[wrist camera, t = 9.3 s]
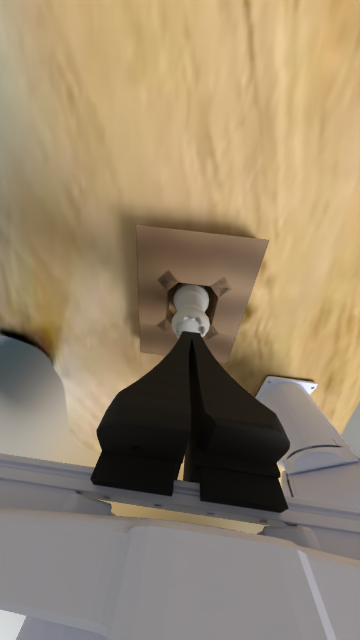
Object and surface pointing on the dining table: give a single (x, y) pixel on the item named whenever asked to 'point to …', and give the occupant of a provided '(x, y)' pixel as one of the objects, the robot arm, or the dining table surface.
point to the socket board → (194, 282)
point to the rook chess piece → (190, 309)
